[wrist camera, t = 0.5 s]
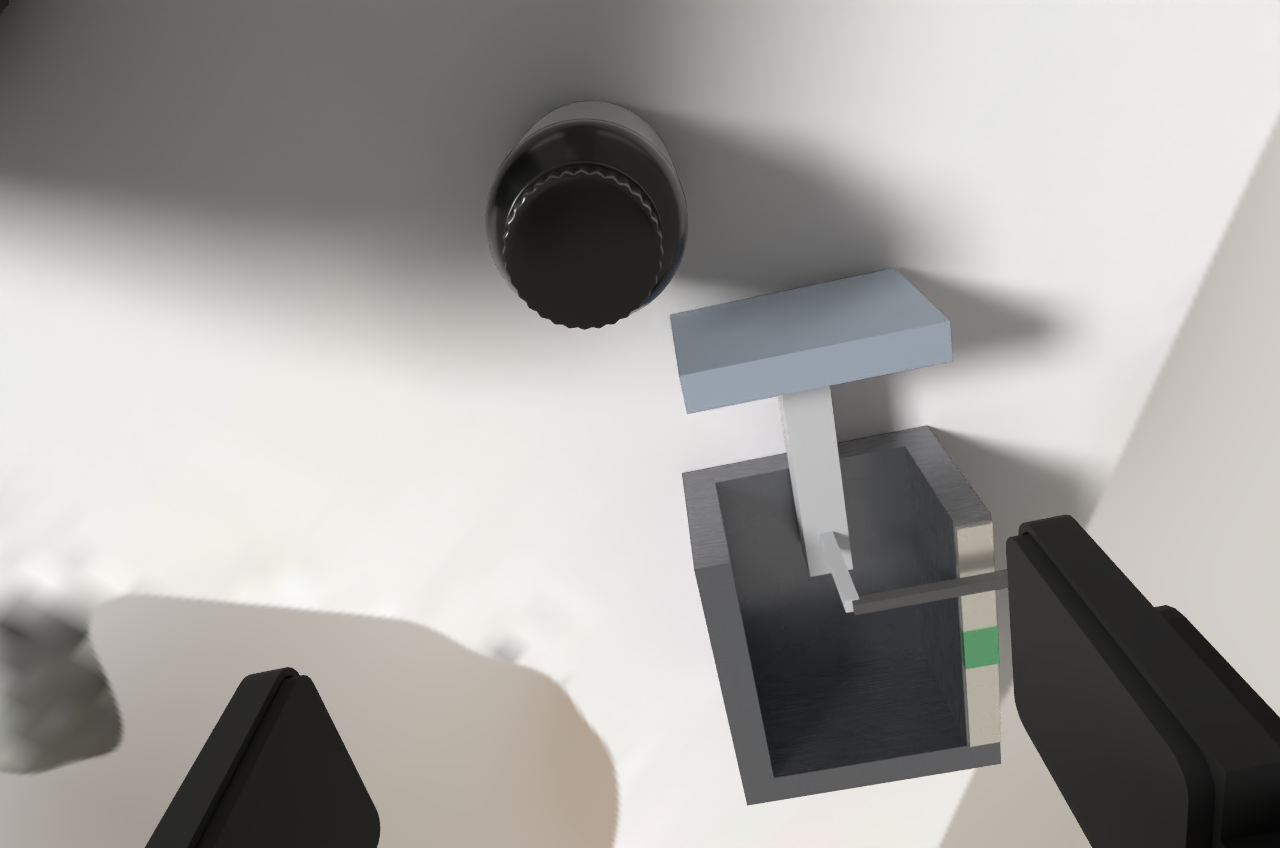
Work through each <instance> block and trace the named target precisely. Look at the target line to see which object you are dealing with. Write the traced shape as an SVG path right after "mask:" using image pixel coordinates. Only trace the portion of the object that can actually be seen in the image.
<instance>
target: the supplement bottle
mask: <svg viewBox="0 0 1280 848" xmlns="http://www.w3.org/2000/svg"><path fill="white" fill-rule="evenodd" d="M687 231H688V215H687V207H686V201H685V197H684V193H683V190H682V187H681V184H680V181H679V179H678V176H677V173H676V171H675V168H674V165H673V163H672V160H671V158H670V155H669V153H668V151H667V149H666V147H665V145H664V143H663V142H662V140H661V139H660V137H659V136H658V134H657V133H656V132H655V131H654V129H653V128H652V127H651V126H650V125H649V124H648V123H647V122H646V121H644V120H643V119H642V118H641V117H639V116H638V115H636V114H635V113H633V112H632V111H630V110H628V109H626V108H623V107H621V106H618V105H615V104H612V103H608V102H601V101H581V102H575V103H571V104H567V105H565V106H562V107H559V108H557V109H555V110H553V111H551V112H550V113H548V114H547V115H545V116H544V117H543V118H541V119H540V120H539V121H538V122H537V123H536V124H535V125H533V126H532V127H531V128H530V130H529V131H528V132H527V133H526V134H525V136H524V137H523V138H522V139H521V141H520V142H519V143H518V144H517V145H516V147H515V148H514V149H513V150H512V151H511V153H510V154H509V155H508V156H507V158H506V159H505V161H504V162H503V164H502V165H501V167H500V169H499V170H498V172H497V174H496V176H495V179H494V181H493V184H492V186H491V189H490V193H489V196H488V201H487V207H486V233H487V239H488V244H489V248H490V251H491V254H492V257H493V259H494V262H495V264H496V266H497V268H498V270H499V272H500V273H501V275H502V277H503V278H504V279H505V281H506V282H507V284H508V285H509V286H510V287H511V289H512V290H513V291H514V292H515V293H516V294H517V295H518V296H519V297H520V298H522V299H523V300H524V301H525V302H526V303H527V305H528V307H529V308H530V309H532V310H535V311H537V312H538V314H539V315H540V316H541V317H542V318H546V319H550V320H551V321H552V322H553V323H554V324H563V325H565V326H566V327H568V328H575V327H579V328H581V329H584V330H585V329H588V328H591V327H595V328H601V327H603V326H604V325H606V324H615V323H616V322H617V321H618V320H619V319H622V318H626V317H628V316H629V315H631V314H633V313H635V312H637V311H638V310H640V309H642V308H643V307H645V306H646V305H648V304H649V303H650V302H651V301H653V300H654V299H655V298H656V297H657V296H658V295H659V294H660V293H661V292H662V291H663V290H664V289H665V287H666V286H667V285H668V283H669V282H670V281H671V279H672V278H673V276H674V274H675V273H676V271H677V269H678V267H679V264H680V262H681V259H682V257H683V253H684V250H685V246H686V240H687Z"/></svg>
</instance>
